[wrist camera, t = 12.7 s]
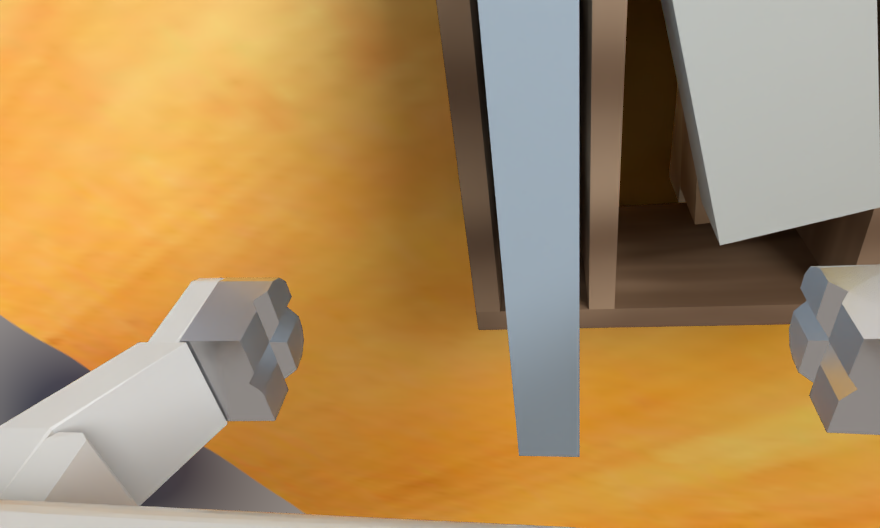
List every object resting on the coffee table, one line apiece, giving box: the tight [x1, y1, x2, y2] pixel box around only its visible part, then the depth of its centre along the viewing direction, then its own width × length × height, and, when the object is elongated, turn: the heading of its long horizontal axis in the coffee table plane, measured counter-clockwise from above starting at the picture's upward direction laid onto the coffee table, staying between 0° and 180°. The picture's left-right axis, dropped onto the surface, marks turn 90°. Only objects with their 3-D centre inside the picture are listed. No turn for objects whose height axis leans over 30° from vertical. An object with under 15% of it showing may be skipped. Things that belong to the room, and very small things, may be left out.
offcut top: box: [661, 0, 880, 245], centre depth 19 cm, size 12×5×3 cm, turn 23°
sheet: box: [478, 0, 579, 457], centre depth 19 cm, size 14×2×17 cm, turn 7°
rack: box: [436, 0, 880, 330], centre depth 21 cm, size 21×20×8 cm
